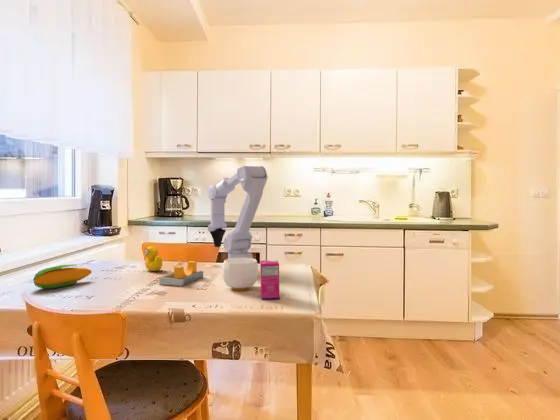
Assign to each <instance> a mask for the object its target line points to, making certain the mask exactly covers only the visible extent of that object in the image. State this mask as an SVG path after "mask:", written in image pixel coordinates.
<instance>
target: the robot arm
mask: <svg viewBox="0 0 560 420" xmlns="http://www.w3.org/2000/svg"><path fill="white" fill-rule="evenodd" d="M268 178H269V176H268V172H267V170H266V168H265V167H264V166H262V165H261V166H260V165H259V166H252V165H241V166H239V167H238V168H237V170H236V172H234V174H232V176H231V177H223V178H222V180H221V181H220V182H217V183H216V185H213V184H212V185H210V186H208V189H207V196H208V199H210V224H208V225H207V231H208V232H209V234H210V235H211V237H212V241H213V244H214V245H213V246H214V247H215V248H221V247H222V244H223V248H224V250H225V252H226V253H227V256H228V257H227V259H230V258H252V259H254V255H253V253H252V252H249V250H250V248H251V247H252V239H253V236H252V233H251V232H250V229H251V226H252V223H253V222H254V221H253V220H254V217H255V216H256V214H257V210H258V207H259V205H260V202H261V199H262V196H263V193H264V188H265V185H266V184H267V180H268ZM239 184H240V185H241V188H242V190H243V191H244V192H246V196H245V198H244V201H243V204H242V206H241V210H240V213H239V215H238V219H237V220H236V221H237V222H236V223H235V226H234V228H233V229H231V230H229V231H228V232H227V231H226V229H227V226H228V224H227V223H226V221H225V204H226V201H227V197H228V194H230V193H231V192H233V191H234V190H236V189H235V188H236V186H238V185H239ZM226 232H227V235H226V236H225V233H226ZM224 236H225V237H224ZM223 238H224V239H223ZM222 242H223V243H222Z"/></svg>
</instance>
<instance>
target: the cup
mask: <svg viewBox="0 0 560 420" xmlns="http://www.w3.org/2000/svg"><path fill="white" fill-rule="evenodd" d="M258 264H259V263H258V261H257V259H255V258H253V259H252V258H230V259H228V258H226V259H224V260H223V263H222V267H221V271H222V272H221V274H222V278H223V282H224V283H225V285H226V286H227V287H229V288H231V289H232V290H233V291H247V290H249V289H250V288H251V287H253V286H254V285H255V284H256V282H257V280H258V275H259V265H258Z"/></svg>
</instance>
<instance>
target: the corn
mask: <svg viewBox="0 0 560 420" xmlns="http://www.w3.org/2000/svg"><path fill="white" fill-rule="evenodd" d="M72 266H73V267H72ZM75 266H76V267H75ZM77 266H78V264H62V265H56V266H52V267H51V266H50V267H46V268H43V269H41V270H39V271H38V272H37V273H36V274H35V275H34V277H33V280H32V281H33V284H34V286H35V287H37V288H40V289H43V290H52V289H58V288H63V287H68V286H71V285H72V286H73V285H75V284H77V283H78V281H81V280H83V279H85V278H87V277H89V276H90V275H91V274H92V270H91V269H89V268H86V267H77Z"/></svg>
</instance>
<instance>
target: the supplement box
mask: <svg viewBox="0 0 560 420" xmlns="http://www.w3.org/2000/svg"><path fill="white" fill-rule="evenodd" d="M259 264H260V265H259V270H260V273H259V275H260V276H259V277H260V296H261V300H262V301H266V300H267V301H269V300H270V301H271V300H275V301H277V300H280V299H281V298H280V263H279V261H278V260H277V259H271V260H269V259H268V260H265V259H264V260H260V263H259Z"/></svg>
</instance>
